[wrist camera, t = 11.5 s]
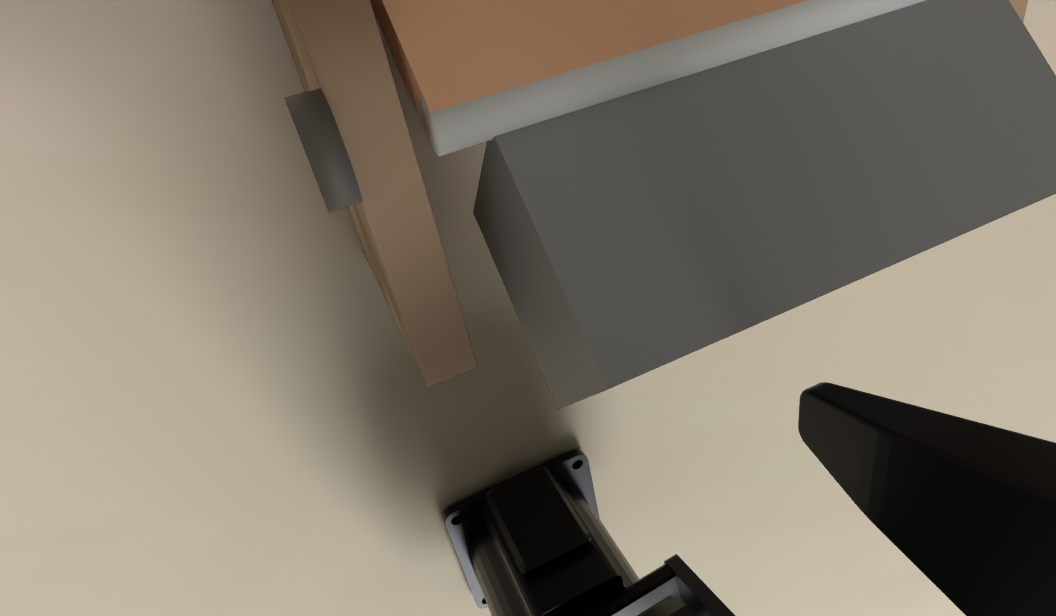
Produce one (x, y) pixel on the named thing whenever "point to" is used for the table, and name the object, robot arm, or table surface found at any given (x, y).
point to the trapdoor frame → (378, 172)
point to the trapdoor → (718, 153)
